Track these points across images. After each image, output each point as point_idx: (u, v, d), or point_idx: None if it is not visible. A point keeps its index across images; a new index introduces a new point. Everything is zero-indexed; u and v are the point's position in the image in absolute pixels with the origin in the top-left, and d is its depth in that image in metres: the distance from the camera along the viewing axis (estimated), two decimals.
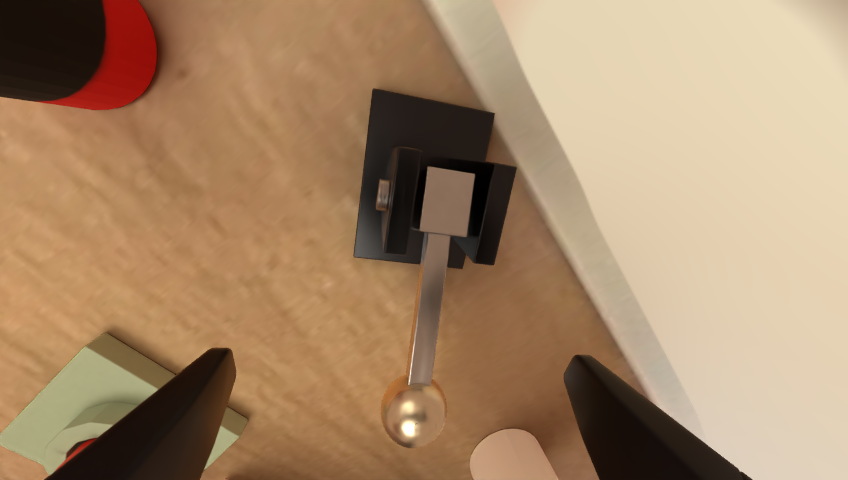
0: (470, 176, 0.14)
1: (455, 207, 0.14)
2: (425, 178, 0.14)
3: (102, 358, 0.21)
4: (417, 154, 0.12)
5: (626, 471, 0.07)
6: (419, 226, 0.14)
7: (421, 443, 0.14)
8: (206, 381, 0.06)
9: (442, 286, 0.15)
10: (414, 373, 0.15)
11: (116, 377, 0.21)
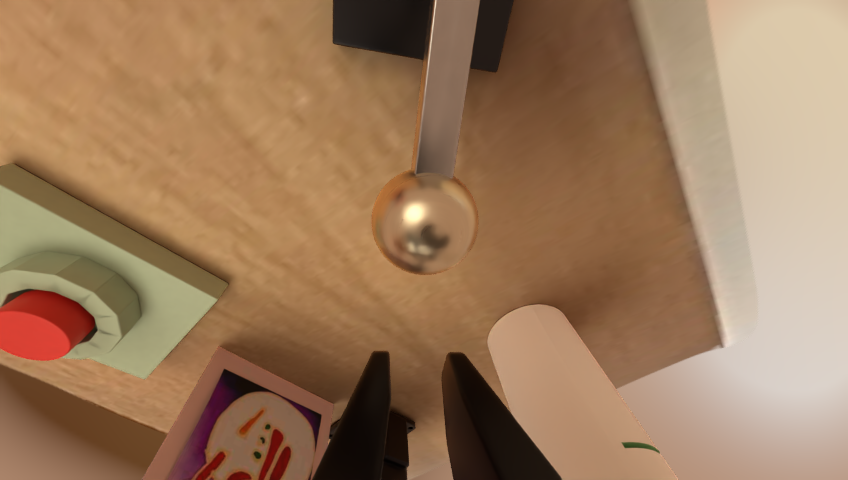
0: None
1: None
2: None
3: (9, 192, 0.16)
4: None
5: (468, 479, 0.06)
6: None
7: (437, 261, 0.09)
8: (389, 382, 0.07)
9: None
10: (425, 153, 0.08)
11: (38, 219, 0.17)
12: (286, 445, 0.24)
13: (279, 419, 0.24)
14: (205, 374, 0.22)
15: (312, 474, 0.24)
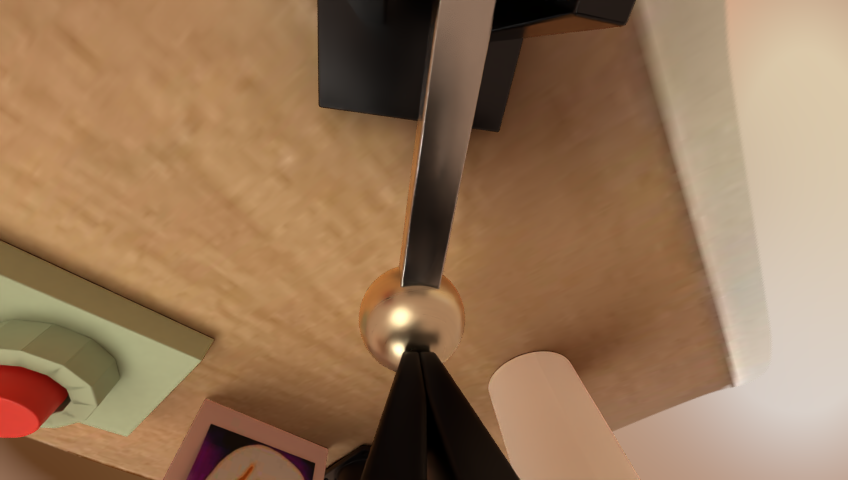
0: None
1: None
2: None
3: None
4: None
5: None
6: None
7: None
8: (423, 382, 0.07)
9: (473, 103, 0.07)
10: (411, 269, 0.08)
11: (3, 289, 0.15)
12: None
13: (269, 475, 0.23)
14: (190, 433, 0.21)
15: None
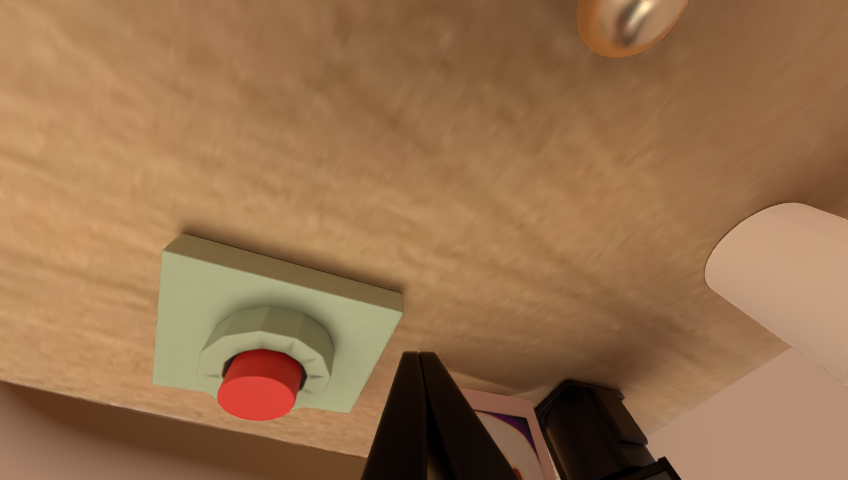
0: None
1: None
2: None
3: (193, 260, 0.15)
4: None
5: None
6: None
7: (649, 45, 0.10)
8: (423, 382, 0.07)
9: None
10: None
11: (224, 279, 0.16)
12: (512, 467, 0.21)
13: (493, 439, 0.22)
14: None
15: None
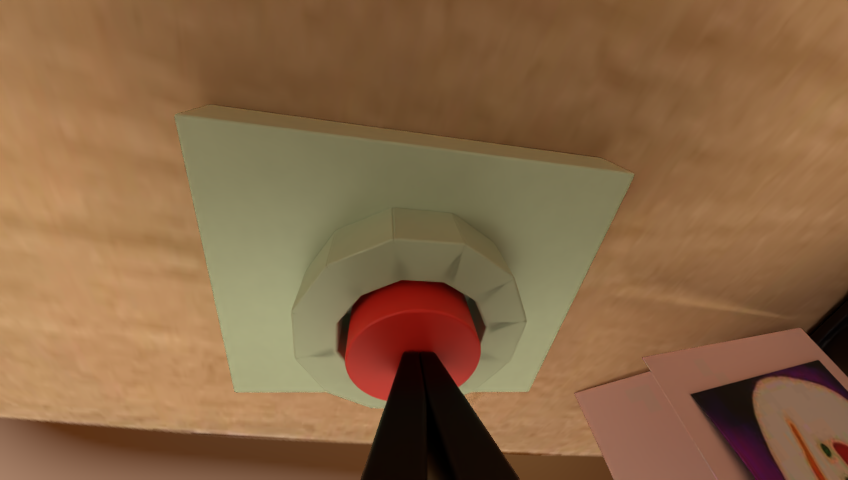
0: None
1: None
2: None
3: (235, 128, 0.07)
4: None
5: None
6: None
7: None
8: (423, 382, 0.07)
9: None
10: None
11: (300, 163, 0.08)
12: None
13: (813, 419, 0.12)
14: (691, 429, 0.10)
15: None
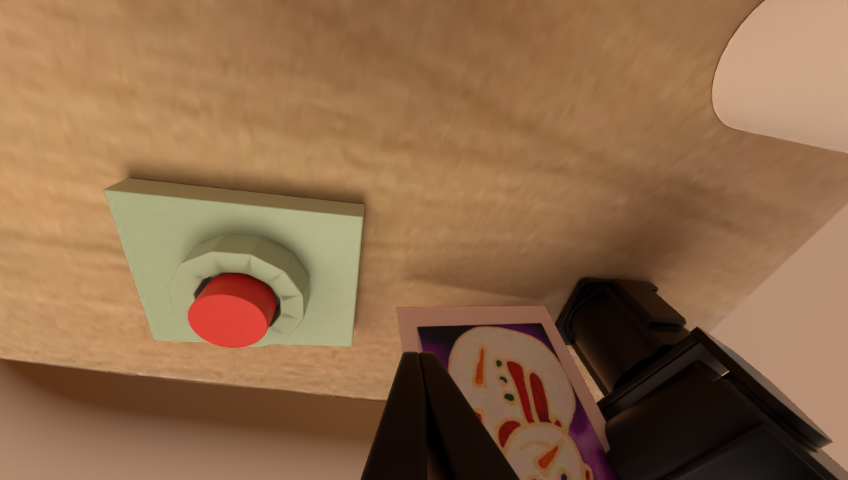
0: None
1: None
2: None
3: (135, 195, 0.15)
4: None
5: None
6: None
7: None
8: (423, 382, 0.07)
9: None
10: None
11: (172, 211, 0.16)
12: (529, 372, 0.19)
13: (504, 349, 0.20)
14: (404, 342, 0.19)
15: (575, 388, 0.19)
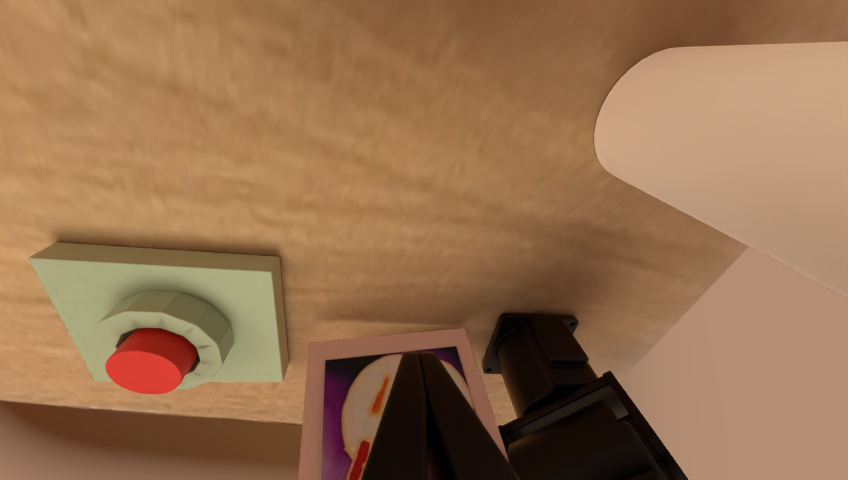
0: None
1: None
2: None
3: (57, 261, 0.17)
4: None
5: None
6: None
7: None
8: (423, 382, 0.07)
9: None
10: None
11: (93, 273, 0.17)
12: None
13: None
14: (309, 376, 0.20)
15: (477, 411, 0.20)
